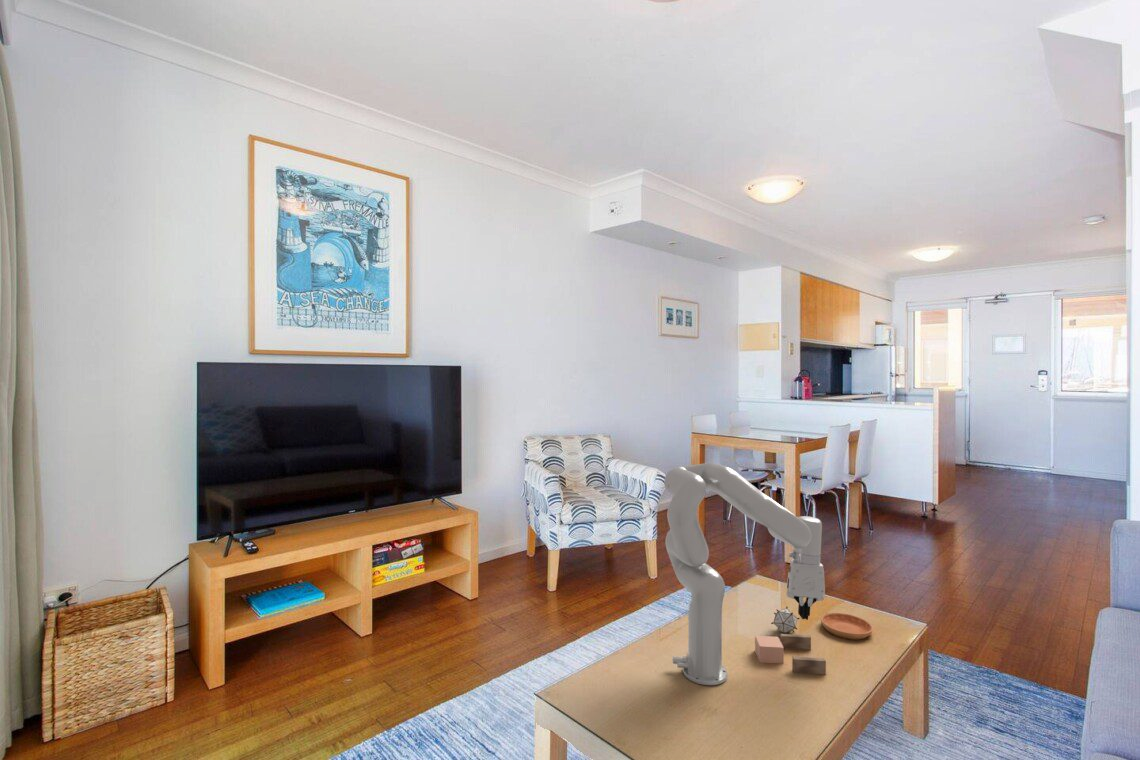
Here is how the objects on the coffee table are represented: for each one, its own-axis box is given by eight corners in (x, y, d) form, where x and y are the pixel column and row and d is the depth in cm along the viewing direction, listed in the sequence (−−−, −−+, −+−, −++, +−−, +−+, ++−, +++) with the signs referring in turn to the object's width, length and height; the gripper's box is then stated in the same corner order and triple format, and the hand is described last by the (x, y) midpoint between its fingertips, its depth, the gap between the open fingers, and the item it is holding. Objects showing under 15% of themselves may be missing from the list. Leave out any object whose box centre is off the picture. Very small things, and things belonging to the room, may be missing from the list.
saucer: (860, 621, 198) (861, 613, 198) (881, 643, 182) (881, 634, 182) (814, 619, 200) (814, 611, 200) (830, 641, 184) (830, 632, 184)
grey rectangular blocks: (793, 672, 165) (793, 659, 165) (780, 646, 180) (780, 633, 180) (825, 674, 163) (825, 661, 163) (809, 647, 179) (809, 635, 179)
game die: (791, 645, 189) (806, 628, 183) (767, 635, 189) (782, 619, 183) (788, 622, 196) (802, 605, 191) (765, 613, 196) (779, 596, 191)
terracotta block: (759, 662, 171) (759, 646, 171) (755, 651, 178) (755, 635, 178) (783, 663, 170) (783, 647, 170) (777, 652, 177) (777, 636, 177)
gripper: (784, 559, 168) (781, 620, 169) (836, 564, 167) (833, 625, 167) (778, 552, 176) (775, 610, 176) (828, 556, 174) (825, 615, 174)
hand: (803, 617), depth 171 cm, fingers closed
